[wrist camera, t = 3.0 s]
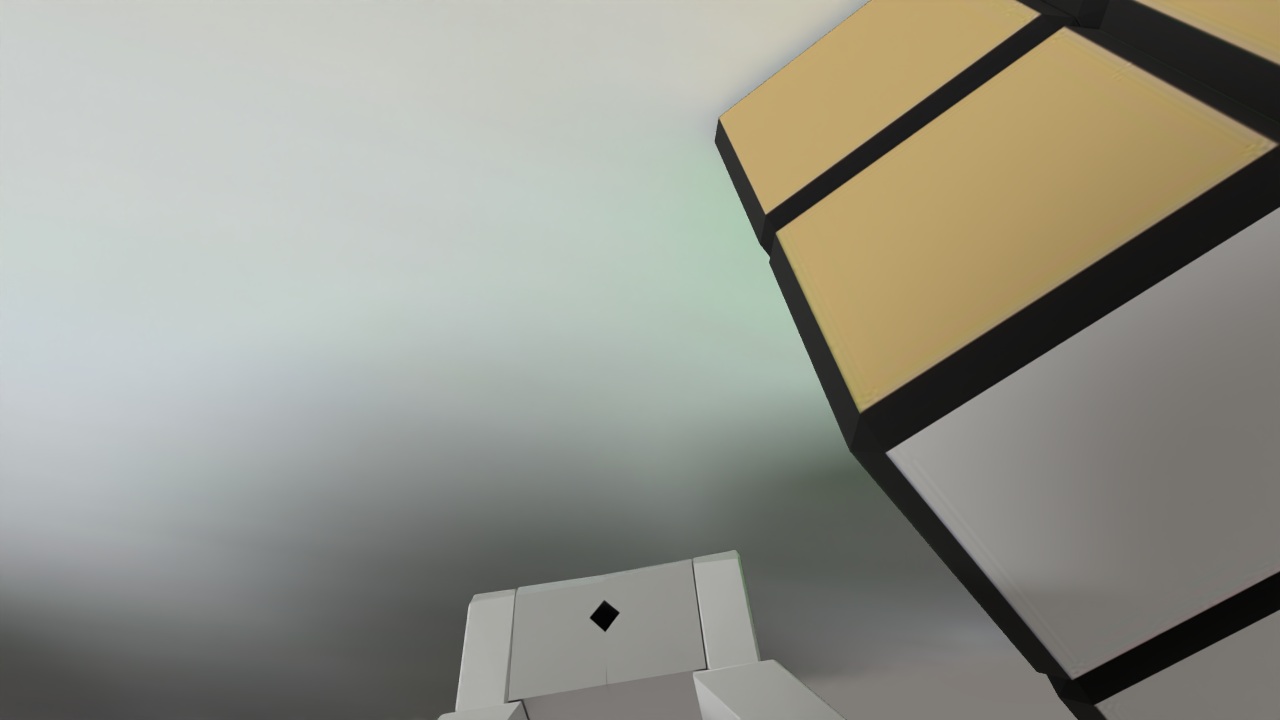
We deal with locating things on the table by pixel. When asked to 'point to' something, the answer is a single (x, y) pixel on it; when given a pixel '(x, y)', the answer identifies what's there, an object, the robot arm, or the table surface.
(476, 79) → the table surface
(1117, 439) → the puzzle cube
